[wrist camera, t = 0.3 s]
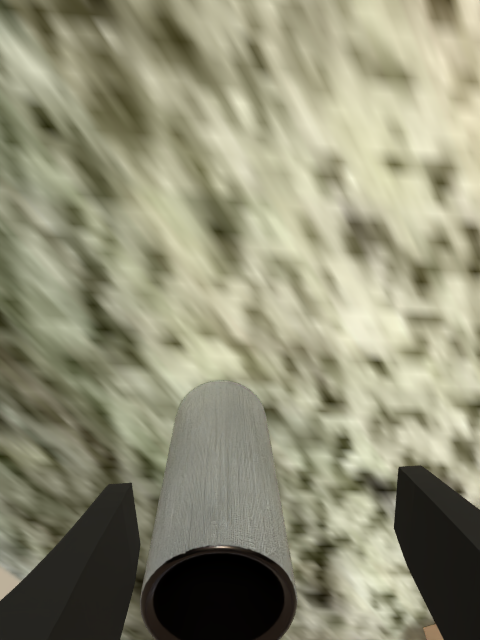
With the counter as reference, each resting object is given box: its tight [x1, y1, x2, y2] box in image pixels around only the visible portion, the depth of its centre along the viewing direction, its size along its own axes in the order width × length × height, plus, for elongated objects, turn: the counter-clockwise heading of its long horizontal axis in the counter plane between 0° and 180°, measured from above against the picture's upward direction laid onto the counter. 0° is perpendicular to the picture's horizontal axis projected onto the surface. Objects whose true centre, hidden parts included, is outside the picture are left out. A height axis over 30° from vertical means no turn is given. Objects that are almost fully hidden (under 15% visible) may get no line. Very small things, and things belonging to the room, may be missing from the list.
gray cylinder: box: [140, 381, 297, 640], centre depth 18 cm, size 4×4×10 cm
